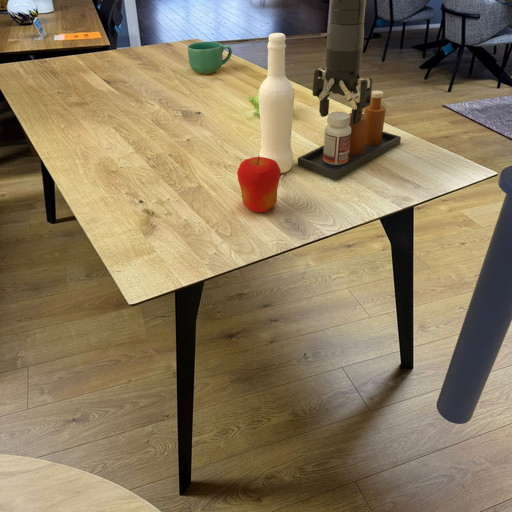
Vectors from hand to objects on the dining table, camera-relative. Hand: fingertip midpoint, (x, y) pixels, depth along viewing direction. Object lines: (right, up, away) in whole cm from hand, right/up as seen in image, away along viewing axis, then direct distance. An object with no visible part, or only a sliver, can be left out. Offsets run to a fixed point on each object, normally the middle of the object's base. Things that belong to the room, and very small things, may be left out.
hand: (338, 120), depth 110 cm
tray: (+5, -6, +10) cm, 13 cm away
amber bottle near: (+5, -5, +10) cm, 13 cm away
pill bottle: (0, -8, +6) cm, 11 cm away
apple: (-18, -21, -9) cm, 30 cm away
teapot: (-15, +11, +34) cm, 38 cm away
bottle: (-14, -10, +5) cm, 18 cm away
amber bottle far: (+11, -1, +15) cm, 19 cm away
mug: (-36, +39, +73) cm, 90 cm away
